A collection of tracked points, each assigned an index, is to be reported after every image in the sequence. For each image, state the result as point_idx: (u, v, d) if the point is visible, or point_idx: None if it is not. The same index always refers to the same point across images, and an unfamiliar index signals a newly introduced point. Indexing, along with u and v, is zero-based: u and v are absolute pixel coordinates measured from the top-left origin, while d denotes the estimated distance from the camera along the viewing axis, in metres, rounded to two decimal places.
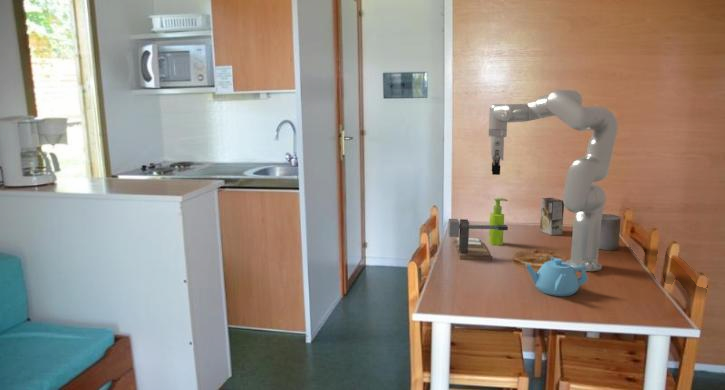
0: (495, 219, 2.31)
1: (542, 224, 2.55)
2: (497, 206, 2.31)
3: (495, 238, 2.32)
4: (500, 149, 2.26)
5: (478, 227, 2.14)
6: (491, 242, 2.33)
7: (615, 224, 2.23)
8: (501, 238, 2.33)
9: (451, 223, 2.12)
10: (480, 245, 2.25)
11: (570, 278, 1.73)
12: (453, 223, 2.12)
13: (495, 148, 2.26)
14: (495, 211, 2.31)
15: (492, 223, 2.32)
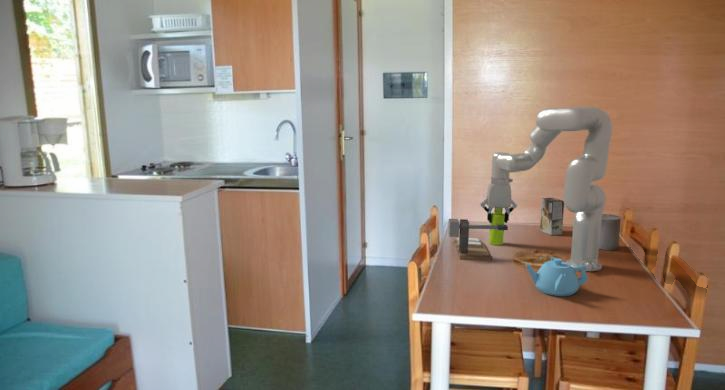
0: (496, 219, 2.31)
1: (542, 224, 2.55)
2: None
3: (495, 237, 2.32)
4: None
5: (478, 227, 2.14)
6: (491, 242, 2.33)
7: (615, 224, 2.23)
8: (501, 238, 2.33)
9: (451, 223, 2.12)
10: (480, 245, 2.25)
11: (570, 278, 1.73)
12: (453, 223, 2.12)
13: None
14: (496, 211, 2.31)
15: (493, 223, 2.32)
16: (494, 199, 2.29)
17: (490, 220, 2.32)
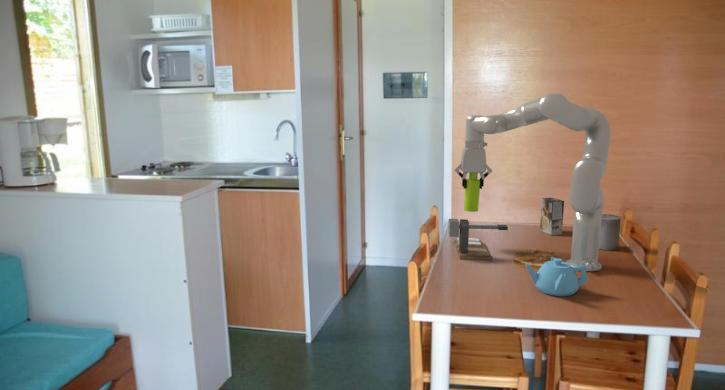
0: (470, 184, 2.23)
1: (542, 224, 2.55)
2: None
3: (470, 204, 2.24)
4: None
5: (478, 227, 2.14)
6: (466, 208, 2.25)
7: (615, 224, 2.23)
8: (476, 204, 2.25)
9: (451, 223, 2.12)
10: (480, 245, 2.25)
11: (570, 278, 1.73)
12: (453, 223, 2.12)
13: None
14: (471, 176, 2.24)
15: (467, 188, 2.24)
16: (468, 163, 2.22)
17: (465, 186, 2.24)
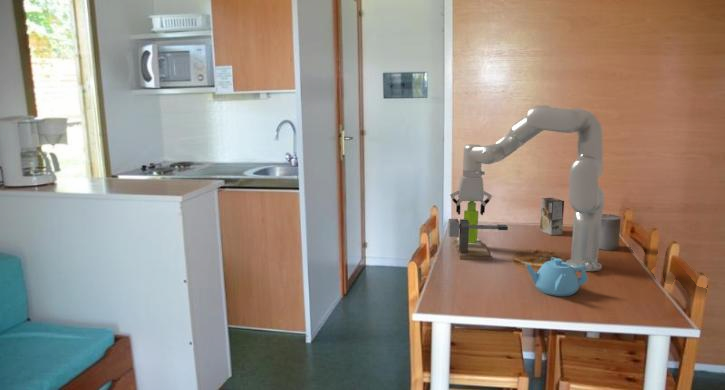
0: (469, 216, 2.25)
1: (542, 224, 2.55)
2: (471, 202, 2.25)
3: (469, 235, 2.26)
4: None
5: (478, 227, 2.14)
6: None
7: (615, 224, 2.23)
8: (475, 236, 2.27)
9: (451, 223, 2.12)
10: (480, 245, 2.25)
11: (570, 278, 1.73)
12: (453, 223, 2.12)
13: None
14: (469, 208, 2.26)
15: None
16: (465, 192, 2.24)
17: (459, 212, 2.26)
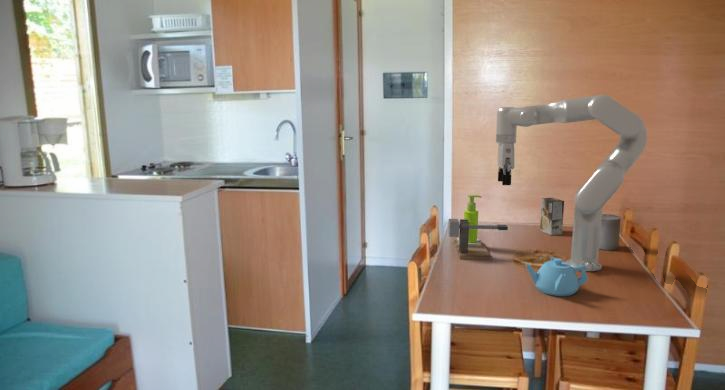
0: (469, 216, 2.25)
1: (542, 224, 2.55)
2: (471, 202, 2.25)
3: (469, 235, 2.26)
4: (511, 156, 2.05)
5: (478, 227, 2.14)
6: None
7: (615, 224, 2.23)
8: (475, 236, 2.27)
9: (451, 223, 2.12)
10: (480, 245, 2.25)
11: (570, 278, 1.73)
12: (453, 223, 2.12)
13: (506, 155, 2.05)
14: (469, 208, 2.25)
15: None
16: (498, 157, 2.12)
17: (498, 178, 2.16)
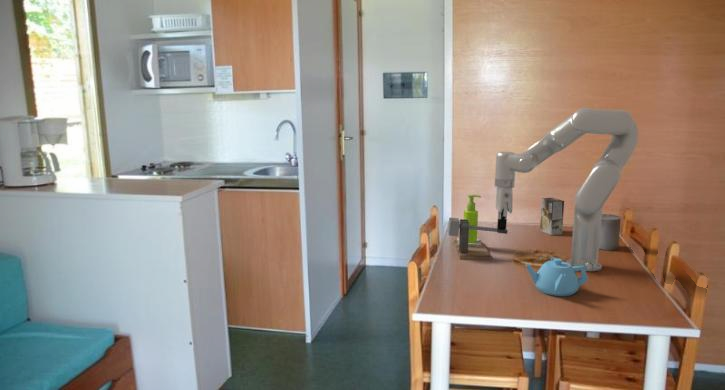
0: (468, 216, 2.25)
1: (542, 224, 2.55)
2: (471, 202, 2.25)
3: (469, 235, 2.26)
4: (509, 201, 2.08)
5: (478, 228, 2.14)
6: None
7: (615, 224, 2.23)
8: (475, 235, 2.27)
9: (452, 222, 2.12)
10: (480, 245, 2.25)
11: (570, 278, 1.73)
12: (454, 222, 2.12)
13: (504, 200, 2.08)
14: (469, 208, 2.26)
15: None
16: (496, 200, 2.15)
17: (497, 225, 2.15)
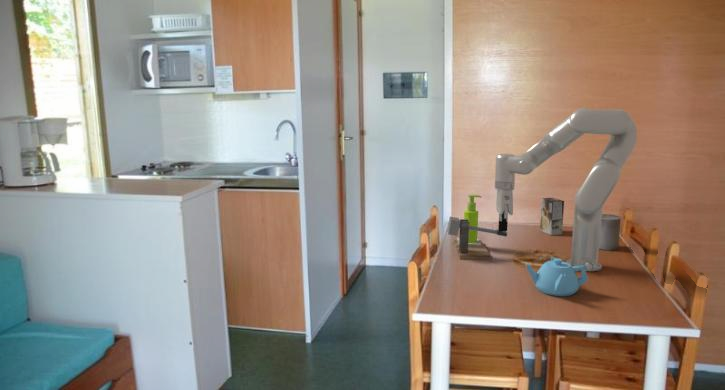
0: (469, 216, 2.25)
1: (542, 224, 2.55)
2: (471, 202, 2.25)
3: (469, 235, 2.26)
4: (510, 203, 2.08)
5: (478, 229, 2.14)
6: None
7: (615, 224, 2.23)
8: (475, 236, 2.27)
9: (452, 221, 2.12)
10: (480, 245, 2.25)
11: (570, 278, 1.73)
12: (454, 221, 2.12)
13: (504, 202, 2.08)
14: (469, 208, 2.26)
15: None
16: (496, 202, 2.15)
17: (498, 227, 2.15)
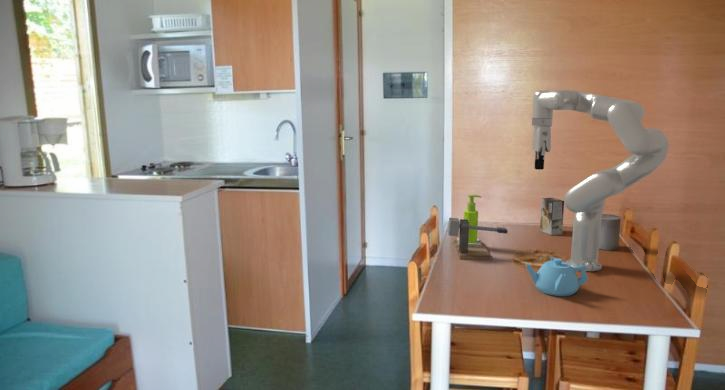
0: (468, 216, 2.25)
1: (542, 224, 2.55)
2: (471, 202, 2.25)
3: (469, 235, 2.26)
4: (547, 140, 2.06)
5: (478, 228, 2.14)
6: None
7: (615, 224, 2.23)
8: (475, 235, 2.27)
9: (451, 222, 2.12)
10: (480, 245, 2.25)
11: (570, 278, 1.73)
12: (453, 222, 2.12)
13: (542, 139, 2.06)
14: (469, 208, 2.26)
15: None
16: (533, 140, 2.14)
17: None
